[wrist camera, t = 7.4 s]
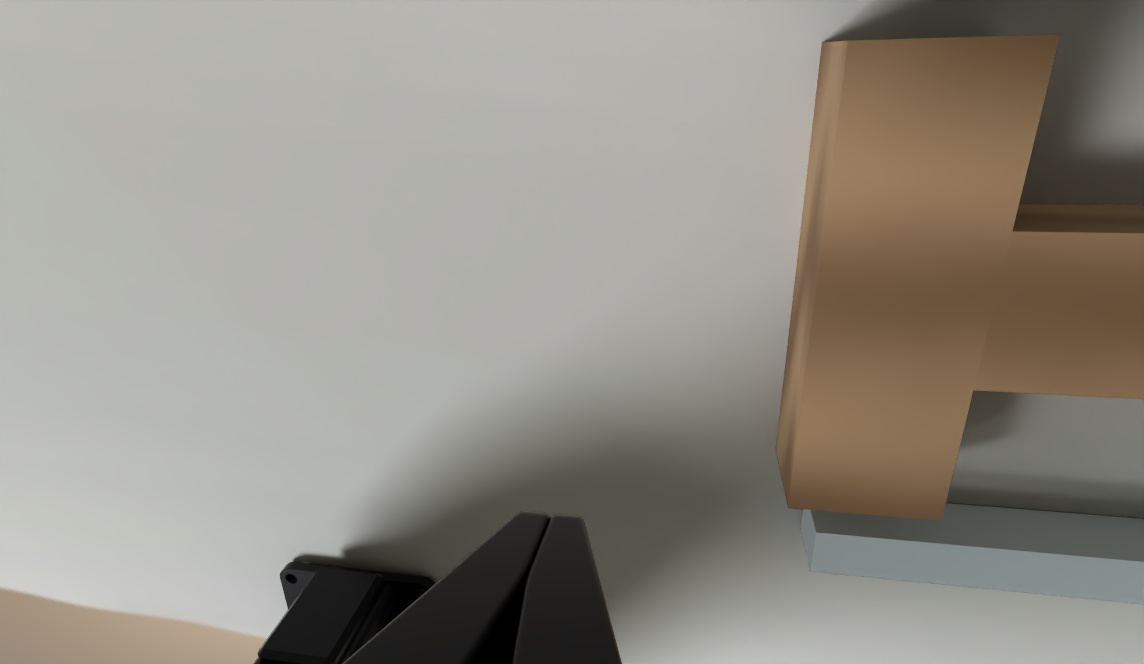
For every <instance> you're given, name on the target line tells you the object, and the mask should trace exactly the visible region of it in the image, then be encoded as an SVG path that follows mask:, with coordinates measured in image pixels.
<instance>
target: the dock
mask: <svg viewBox="0 0 1144 664" xmlns="http://www.w3.org/2000/svg"><path fill="white" fill-rule="evenodd" d="M800 530H801V534H802V538H803V543H804V547H805V551H806V556H807V560H808V564H809V569H810V571H811V572H821V573H831V574H841V575H852V576H862V577H872V578H882V579H892V580H902V581H912V582H922V583H932V584H942V585H952V586H963V587H973V588H983V589H993V590H1003V591H1013V592H1023V593H1033V594H1043V595H1053V596H1063V597H1073V598H1084V599H1094V600H1104V601H1114V602H1124V603H1134V604H1144V519H1138V518H1125V517H1113V516H1100V515H1088V514H1075V513H1063V512H1050V511H1038V510H1025V509H1013V508H1001V507H988V506H976V505H963V504H951V503H946V505H945V509H944V513H943V517H942V521H938V520H926V519H914V518H902V517H890V516H878V515H866V514H853V513H841V512H829V511H817V510H805V509H803V513H802V520H801V527H800Z"/></svg>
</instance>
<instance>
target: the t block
mask: <svg viewBox="0 0 1144 664" xmlns="http://www.w3.org/2000/svg"><path fill="white" fill-rule="evenodd" d="M1059 38H1060V34H1049V35H1016V36H982V37H949V38H915V39H882V40H848V41H835V42H822V47H821V56H820V65H819V74H818V82H817V91H816V100H815V109H814V118H813V126H812V135H811V144H810V153H809V162H808V170H807V179H806V188H805V197H804V206H803V214H802V223H801V232H800V241H799V250H798V258H797V267H796V276H795V285H794V294H793V302H792V311H791V320H790V329H789V337H788V346H787V355H786V364H785V373H784V381H783V390H782V399H781V408H780V417H779V425H778V434H777V443H776V453H777V458H778V463H779V467H780V472H781V477H782V482H783V486H784V491H785V496H786V500H787V505H788V508H793V509H805V510H817V511H829V512H841V513H853V514H866V515H878V516H890V517H902V518H914V519H926V520H938V521H942V517H943V513H944V509H945V505H946V501H947V497H948V492H949V488H950V484H951V480H952V476H953V472H954V468H955V464H956V460H957V456H958V452H959V447H960V443H961V439H962V435H963V431H964V427H965V423H966V419H967V415H968V411H969V407H970V402H971V398H972V394H973V390H978V391H997V392H1016V393H1036V394H1055V395H1074V396H1093V397H1112V398H1132V399H1144V205H1105V204H1019V202H1020V198H1021V194H1022V190H1023V186H1024V182H1025V178H1026V173H1027V169H1028V165H1029V161H1030V157H1031V153H1032V149H1033V145H1034V141H1035V137H1036V133H1037V128H1038V124H1039V120H1040V116H1041V112H1042V108H1043V104H1044V100H1045V96H1046V92H1047V88H1048V83H1049V79H1050V75H1051V71H1052V67H1053V63H1054V59H1055V55H1056V51H1057V47H1058V43H1059Z"/></svg>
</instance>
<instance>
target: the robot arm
mask: <svg viewBox="0 0 1144 664" xmlns="http://www.w3.org/2000/svg"><path fill="white" fill-rule="evenodd" d="M280 579H281V583H282V587H283V591H284V595H285V599H286V602H287V606H288V611H287V612H286V614H285V615H284V616H283V618H282V619H281V620H280V622H279V623H278V625H277V626H276V627H275V629H274V630H273V631H272V633H271V634H270V636H269V637H268V638H267V640H266V641H265V643H264V644H263V645H262V647H261V648H260V649H259V652H258V658H257V659H256V661H255V662H254V664H622V662H621V659H620V655H619V651H618V647H617V643H616V640H615V636H614V632H613V628H612V625H611V621H610V617H609V613H608V610H607V606H606V602H605V598H604V594H603V591H602V587H601V583H600V579H599V576H598V572H597V568H596V564H595V561H594V557H593V553H592V549H591V545H590V542H589V538H588V534H587V530H586V527H585V523H584V520H583V518H582V517H580V516H573V515H562V514H555V515H553V516H552V517H551V516H550V515H549V514H548V513H541V512H530V511H521V512H519V513H518V514H516V515H515V516H514V517H513V518H512V519H510V520H509V521H508V522H507V523H506V524H505V525H503V526H502V527H501V528H500V529H499V530H498V531H496V532H495V533H494V534H493V535H492V536H491V537H489V538H488V539H487V540H486V541H485V542H484V543H482V544H481V545H480V546H479V547H478V548H477V549H475V550H474V551H473V552H472V553H471V554H470V555H468V556H467V557H466V558H465V559H464V560H463V561H461V562H460V563H459V564H458V565H457V566H456V567H454V568H453V569H452V570H451V571H450V572H449V573H447V574H446V575H445V576H444V577H443V578H442V579H440V580H439V581H438V582H437V583H436V584H435V582H434V581H433V580H431V579H430V578H428V577H424V576H416V575H407V574H398V573H389V572H380V571H371V570H362V569H353V568H344V567H335V566H326V565H317V564H308V563H299V562H290V563H288V564H287V565H286V566H285V568H284V569H283V570H282V571H281V573H280ZM422 589H423V590H422ZM424 590H425V591H424Z"/></svg>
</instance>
